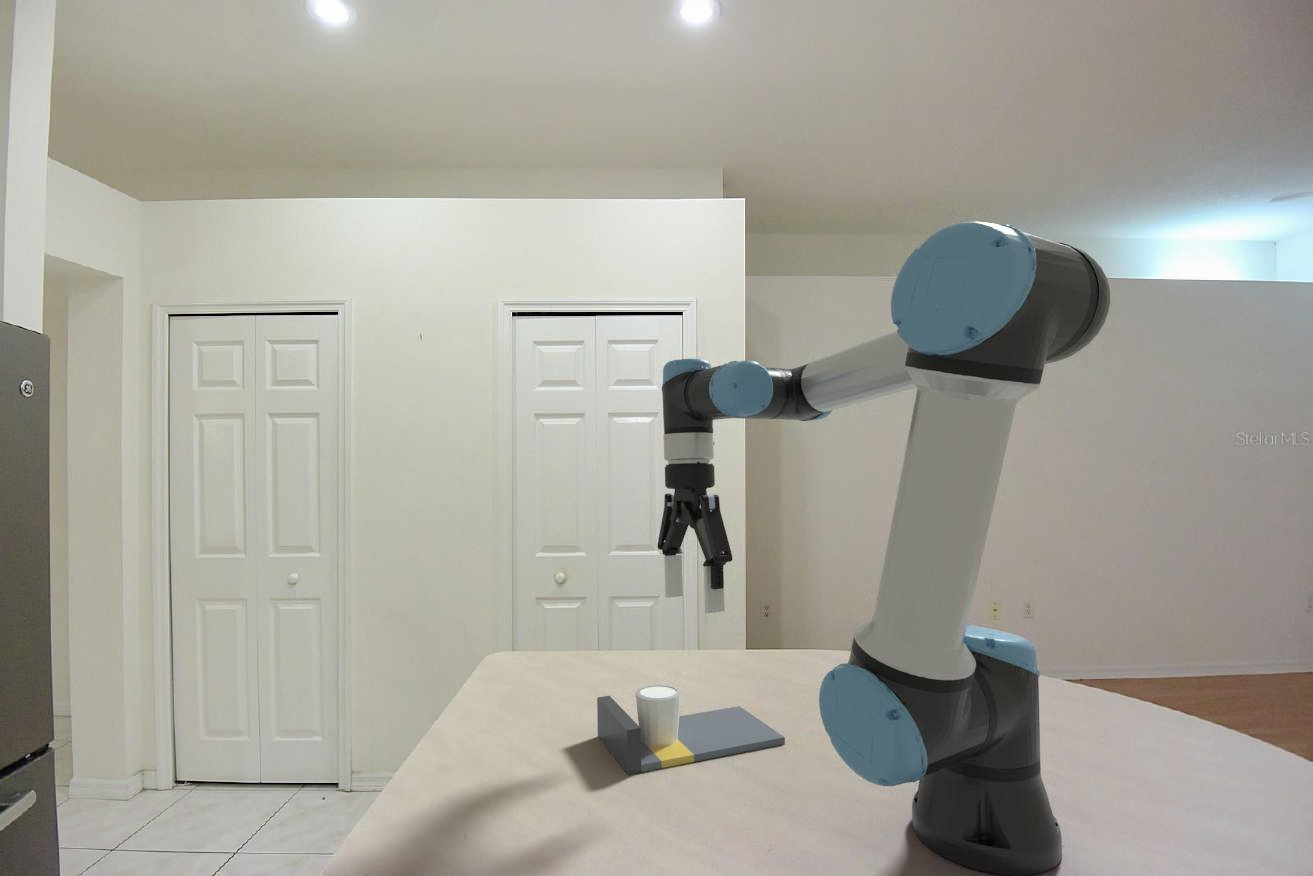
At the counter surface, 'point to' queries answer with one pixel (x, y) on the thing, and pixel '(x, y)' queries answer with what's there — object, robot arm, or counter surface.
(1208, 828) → the counter surface
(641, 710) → the shot glass
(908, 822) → the counter surface
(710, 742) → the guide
